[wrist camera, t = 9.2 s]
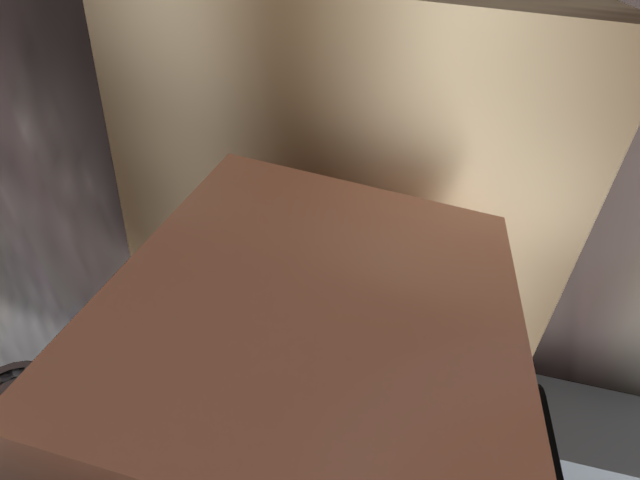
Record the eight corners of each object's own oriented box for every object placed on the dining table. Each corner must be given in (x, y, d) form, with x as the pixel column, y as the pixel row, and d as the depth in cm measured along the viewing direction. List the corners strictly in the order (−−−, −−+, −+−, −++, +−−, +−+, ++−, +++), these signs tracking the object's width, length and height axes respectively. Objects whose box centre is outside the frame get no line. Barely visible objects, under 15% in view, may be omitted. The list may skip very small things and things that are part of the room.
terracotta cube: (504, 217, 10) (584, 616, 4) (426, 398, 13) (411, 753, 8) (228, 153, 11) (-31, 428, 5) (221, 342, 14) (65, 633, 8)
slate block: (688, 402, 19) (738, 501, 16) (613, 494, 23) (641, 588, 20) (507, 364, 20) (520, 450, 17) (466, 459, 24) (469, 543, 21)
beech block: (607, -5, 13) (683, 29, 9) (486, 326, 19) (497, 433, 15) (181, -48, 14) (75, -37, 10) (206, 270, 21) (148, 354, 17)
